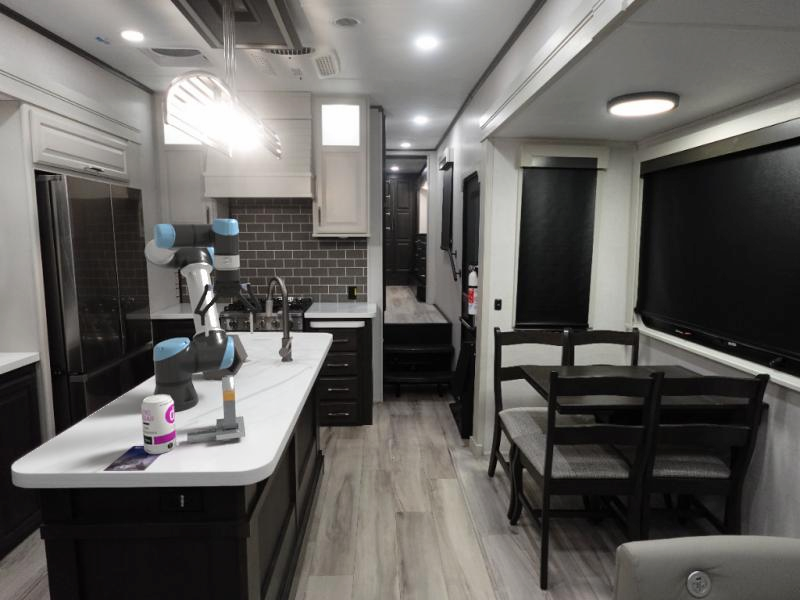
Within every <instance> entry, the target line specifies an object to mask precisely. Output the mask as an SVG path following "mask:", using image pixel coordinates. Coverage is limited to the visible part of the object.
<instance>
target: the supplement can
mask: <svg viewBox="0 0 800 600" xmlns="http://www.w3.org/2000/svg"><path fill="white" fill-rule="evenodd" d="M140 409H141V421H142V423H141V425H142V435H143V438H142V439H143V446H144V448H143V449H144V451H145V452H146V453H148V454H149V455H162V454H165V453H168V452H171V451H172V450H173V449H174V448H175V447H176V446H177V433H176V431H177V430H176V420H175V412H174V401H173V400H172V398H171V396H170V395H166V394H160V395H153V394H152V395H149V396H147V397H144V399H143V401H142V403H141V406H140Z"/></svg>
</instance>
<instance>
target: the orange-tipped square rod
mask: <svg viewBox="0 0 800 600" xmlns="http://www.w3.org/2000/svg"><path fill="white" fill-rule="evenodd" d="M235 391H236V390H235ZM235 391H234V390H228V391H223V390H222V404H223V403H224V409H223V419H224V424H225V429H224V431H226V430H234V429H237V428H236V417H237V415H235V409H236V394H235ZM230 439H232V438H230ZM230 439H229V440H230Z"/></svg>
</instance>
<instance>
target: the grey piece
mask: <svg viewBox="0 0 800 600" xmlns="http://www.w3.org/2000/svg"><path fill="white" fill-rule="evenodd" d="M221 384H222V387H221V389H222V392H223V391H228V390H234V391H236V388H235V387H236V386H235V376H233V375H226V376H223V377H222V379H221ZM222 404H223V405H222V406H223V410H224V403H223V402H222ZM235 415H236V408H235ZM215 423H216V426H215V429H206V430H199V431H190V432H187V435H186V438H187V445H189V444H196V443H203V442H211V441H220V440H221V441H222V440H228V439H229V440H230V438H231V439H237V438H243V437H244V438H245V437H246V429H245V428H246V427H245V420H244V416H243V415H242V416H241V415H240V416H237V415H236V429H234V430H226V431H225V424H224V418H216V422H215Z"/></svg>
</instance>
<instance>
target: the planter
mask: <svg viewBox="0 0 800 600" xmlns="http://www.w3.org/2000/svg"><path fill="white" fill-rule="evenodd" d="M226 336H227V337H228V336H229V337H232V339H233V342H234V358H233V362H232V364H231V366H230V367H228V368H225V369H220V370H214V371H207V372H201V373H202V374H203V378H205V379H206V380H222V377H223V376H226V375H233V376H234V377H235V376H236V375H237V374H238V372H239V370H241V368H242V366H243V365H244V362H245V361H246V360H247V358H248V354H247V351H246V348H245V347H244V345H243V342H242V341H241V339H240V337H239V335H238V334H226Z"/></svg>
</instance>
